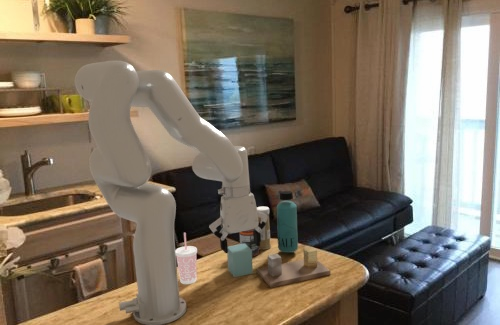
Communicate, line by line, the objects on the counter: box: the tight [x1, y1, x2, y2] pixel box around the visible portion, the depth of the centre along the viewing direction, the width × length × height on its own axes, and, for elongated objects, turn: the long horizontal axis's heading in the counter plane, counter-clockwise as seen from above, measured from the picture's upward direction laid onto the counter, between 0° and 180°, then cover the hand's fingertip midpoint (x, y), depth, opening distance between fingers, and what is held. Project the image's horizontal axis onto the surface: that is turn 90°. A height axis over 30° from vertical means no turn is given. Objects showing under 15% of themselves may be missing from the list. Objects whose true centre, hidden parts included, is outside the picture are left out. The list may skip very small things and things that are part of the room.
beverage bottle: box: [276, 190, 299, 253], centre depth 137 cm, size 6×7×20 cm
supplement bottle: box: [238, 229, 260, 258], centre depth 139 cm, size 6×6×11 cm
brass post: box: [303, 246, 318, 269], centre depth 125 cm, size 3×3×5 cm
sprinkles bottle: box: [256, 206, 272, 251], centre depth 143 cm, size 5×5×13 cm
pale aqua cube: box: [226, 243, 254, 278], centre depth 127 cm, size 6×6×7 cm
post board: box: [256, 253, 331, 288], centre depth 124 cm, size 18×10×6 cm, turn 110°
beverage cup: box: [175, 232, 198, 285], centre depth 122 cm, size 6×6×14 cm
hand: (241, 247), depth 127 cm, fingers open, 9 cm apart
